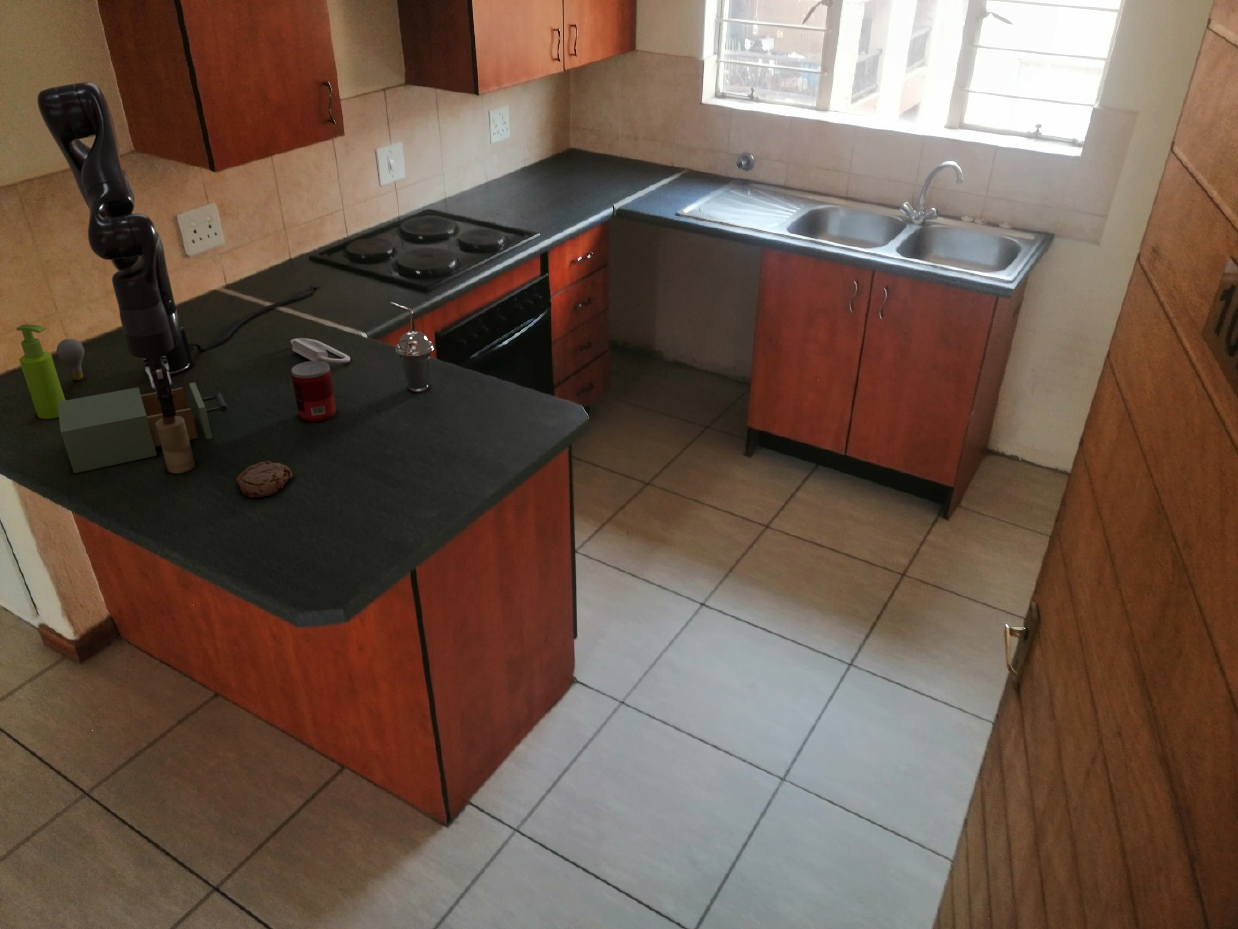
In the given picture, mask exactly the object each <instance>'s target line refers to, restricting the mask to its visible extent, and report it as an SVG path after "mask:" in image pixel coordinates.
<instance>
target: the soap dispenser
mask: <svg viewBox="0 0 1238 929" xmlns="http://www.w3.org/2000/svg"><path fill="white" fill-rule="evenodd" d="M46 329H47V328H46V327H45V326H41V325H37V324H21V325H19V326H16V331H19V332H20V331H21V333H22V336H23V340H22V341H21V342H20V345H21V348H22V351H23V355H22V356H21V357H19V359H18V361H19V364H20V367H21V370H22V373H23V377H24V379H25V382H26V385H27V388H28V391H29V394H30V397H31V400H32V404H33V407H34V410H35V413H36V416H37V417H38V418H39V419H42V420H51V419H57V418H59V412H58V403H57V402H61V401H66V398H65V395H64V391H63V388H62V386H61V382H60V379H59V375H58V372H57V369H56V366H55V362H54V359H53V356H52V354H51V352H48V351H44V350H43V347H42V344H41V340H40V339H39V338H36V337H35V336H34V334H33V332H34V333H37V334H39V333H41V332H43V331H45V330H46Z"/></svg>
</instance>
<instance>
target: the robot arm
mask: <svg viewBox="0 0 1238 929" xmlns="http://www.w3.org/2000/svg"><path fill="white" fill-rule="evenodd" d="M37 107H38V110H39V113H40V116H41V118H42V120H43V122H44V124H45V126H46V128H47V130H48V131H49V133H50V134H51V136H52V138H53V140H54V141H55V143H56V145H57V147H58V148H59V150H60V152H61V154H62V155H63V157H64V159H65V161H66V163H67V164H68V167H69V169H70V171H71V173H72V175H73V178H74V180H75V183H76V185H77V188H78V190H79V192H80V194H81V196H82V199H83V200H84V202H85V204H86V206H87V208H88V209H89V217H88V218H89V219H88V227H87V238H88V244H89V247H90V249H91V251H92V252H93V254H95V256H97V257H99V258H100V259H102V260H107V261H110V262H111V263H112V265H113V267H114V268H115V269H116V270H117V271H115V273H113V274H112V276H111V284H112V286H113V287H112V288H113V291H114V295H115V298H116V302H117V305H118V310H119V318H120V324H121V326H122V331H123V334H124V337H125V341H126V346H127V349H128V352H129V354H130V355H131V356H132V357H135V358H138V359H142V364H143V367H144V370H145V373H146V375H147V376H148V379H149V382H150V386H151V388H152V389H153V390H155V391H154V392H156V395H157V399H158V400H159V402H160V406H161V410H162V413H163V417H164V418H168V417H173V416H176V411H175V407H174V403H173V396H174V395H173V393H172V391H171V389H172V387H171V386H172V385H173V382H172V379H171V378H172V377H171V376H175V375H178V374H182V373H183V372H185V371H187V370H188V369H189V368H190V367H192V366H194V361H193V357H192V352H195V348H194V347H196V349H197V350H198V351H199V352H205V351H208V350H211V349H213V348H215V347H217V346H219V345H221V344H222V343H224V342H225V341H227V340H228V339H229V338H230V337H231V336H232V334H233V333H234V332H235V331H236V330H237V329H238V328H240V327H241V326H242V325H243V324H244V323H245V322H247V321H249V320H250V319H252V318H254V317H255V316H257V315H260V314H262V313H264V312H267V311H269V310H271V309H274V308H277V307H279V306H282V305H286V304H288V303H291V302H295V301H298V300H301V299H304V298H307V297H308V296H309V295H310V294H312V291H311V292H309V291H310V290H311V289H312V290H318V289H319V288H318V286H317V285H316V284H311V285H310V286H309V287H308V290H307V291H306V292H304V293H302V294H300V295H298V296H299V297H298V296H293V297H289V298H286V299H284V300H281V301H278V302H275V303H272V304H269V305H267V306H264V307H261V308H259V309H258V310H256V311H253V312H251V313H249V314H248V315H246V316H245V317H243V318H241V319H240V320H239V321H238V322H236V324H234V325H233V326H232V327H231V328H230V329H229V331H228V332H227V333H226V334H225V335H224V336H222V337H221V338H219V339H218V340H216V341H214V342H213V343H210V344H209V345H206V346H202V345H201V344H200V343H199V342H198V341H189V340H188V336H187V332H186V328H185V327H184V326H181V323H180V319H179V315H178V311H177V307H176V306H177V305H176V303H175V298H174V294H173V290H172V285H171V281H170V276H169V273H168V266H167V261H166V254H165V248H164V243H163V241H162V237H161V235H160V233H159V232H158V231H157V228H156V225H155V223H154V222H153V221H152V219H151V218H150V217H148V216H147V215H145V214H144V213H141V212H140V213H138V212H137V213H133V212H134V209H135V201H136V200H135V193H134V190H133V187H132V185H131V182H130V180H129V178H128V175H127V172H126V171H125V169H123V166H122V165H123V164H122V160H121V153H120V147H119V142H118V137H117V133H116V127H115V123H114V119H113V115H112V111H111V109H110V107H109V103H108V101H107V99H106V97H105V95H104V93H103V91H102V90H101V89H100V87H99V86H98V85H97V84H95V83H94V82H91V81H86V82H85V81H84V82H77V83H70V84H64V85H58V86H53V87H49V88H45V89H43V90H41V91H40V92H38V95H37ZM93 137H94V140H93V143H92V145H91V147H90V146H88V145H87V144H85V143H84V142H82V141H81V140H83V139H88V138H93ZM314 286H315V287H314ZM307 292H309V293H307ZM306 293H307V294H306ZM301 295H303V296H301ZM296 297H297V298H296ZM283 301H284V302H283Z"/></svg>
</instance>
